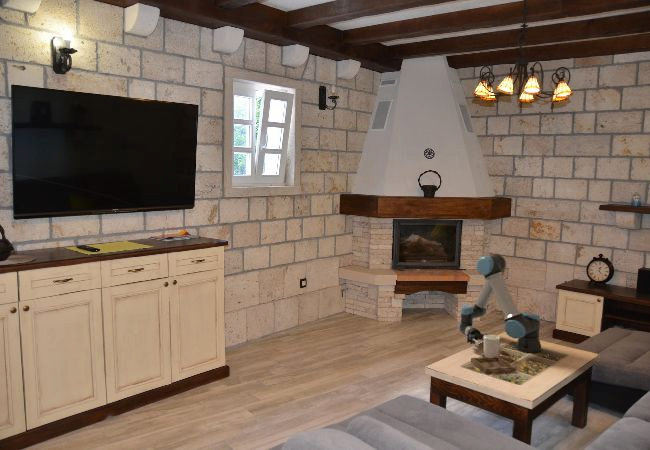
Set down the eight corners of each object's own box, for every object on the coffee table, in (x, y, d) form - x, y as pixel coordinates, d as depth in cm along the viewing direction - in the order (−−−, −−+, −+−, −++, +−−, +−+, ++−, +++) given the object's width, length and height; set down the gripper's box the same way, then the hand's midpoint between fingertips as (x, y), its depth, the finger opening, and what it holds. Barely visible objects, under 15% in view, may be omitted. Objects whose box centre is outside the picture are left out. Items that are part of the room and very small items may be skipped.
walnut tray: (499, 360, 313) (499, 356, 313) (515, 371, 295) (515, 367, 295) (470, 362, 310) (470, 357, 309) (485, 373, 292) (485, 369, 292)
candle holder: (496, 360, 314) (496, 340, 313) (480, 356, 320) (480, 337, 318) (501, 355, 322) (502, 336, 320) (485, 352, 327) (486, 333, 326)
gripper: (490, 338, 346) (506, 348, 325) (454, 339, 341) (469, 350, 321) (490, 327, 345) (507, 336, 324) (455, 328, 341) (469, 338, 320)
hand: (488, 343), depth 322 cm, fingers open, 13 cm apart
